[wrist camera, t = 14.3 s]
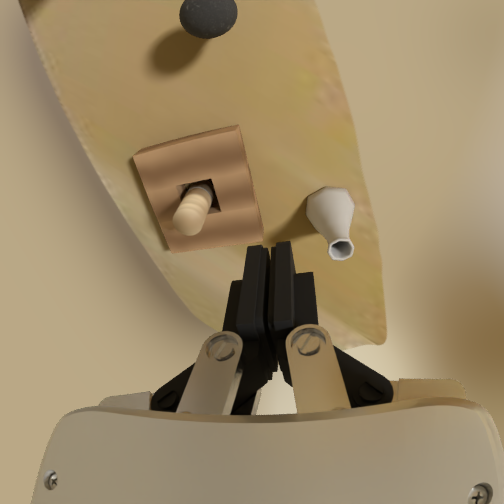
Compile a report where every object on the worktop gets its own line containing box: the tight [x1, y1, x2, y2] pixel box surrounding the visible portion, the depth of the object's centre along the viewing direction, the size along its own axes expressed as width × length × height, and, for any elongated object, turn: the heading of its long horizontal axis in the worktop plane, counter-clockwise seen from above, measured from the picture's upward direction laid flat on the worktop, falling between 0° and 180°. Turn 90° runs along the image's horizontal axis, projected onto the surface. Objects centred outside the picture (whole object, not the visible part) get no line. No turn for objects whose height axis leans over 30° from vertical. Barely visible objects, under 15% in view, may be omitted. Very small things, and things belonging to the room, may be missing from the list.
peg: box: [173, 180, 214, 236], centre depth 39 cm, size 4×4×9 cm
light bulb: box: [179, 0, 237, 39], centre depth 24 cm, size 6×6×10 cm
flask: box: [306, 187, 355, 261], centre depth 39 cm, size 7×7×10 cm
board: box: [133, 125, 264, 253], centre depth 41 cm, size 16×14×3 cm
